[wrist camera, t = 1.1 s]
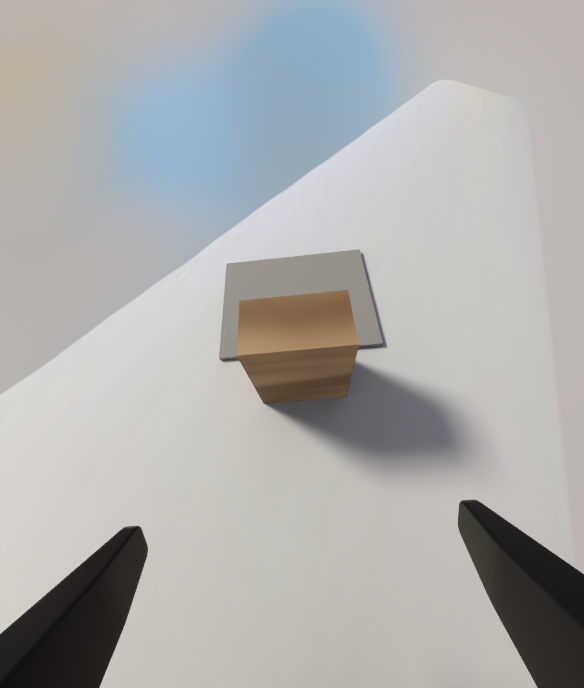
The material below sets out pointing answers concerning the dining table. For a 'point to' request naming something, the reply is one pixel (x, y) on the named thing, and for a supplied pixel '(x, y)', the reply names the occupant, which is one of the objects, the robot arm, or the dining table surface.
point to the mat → (299, 290)
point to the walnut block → (298, 345)
